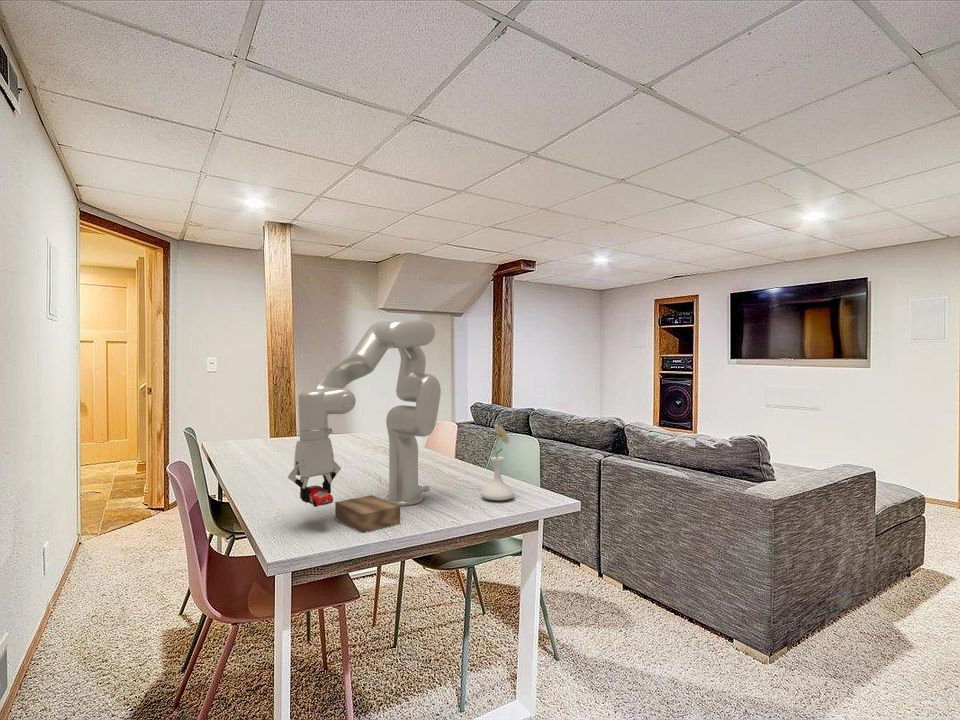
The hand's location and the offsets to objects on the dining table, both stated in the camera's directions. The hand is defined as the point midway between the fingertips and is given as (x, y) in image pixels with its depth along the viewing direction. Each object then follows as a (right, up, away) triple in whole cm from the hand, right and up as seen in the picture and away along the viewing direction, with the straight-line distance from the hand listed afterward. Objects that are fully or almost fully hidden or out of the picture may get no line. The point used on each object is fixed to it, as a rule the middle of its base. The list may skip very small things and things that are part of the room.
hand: (316, 498), depth 143 cm
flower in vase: (+52, -8, +30) cm, 61 cm away
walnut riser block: (+13, -8, +4) cm, 16 cm away
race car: (0, -1, 0) cm, 1 cm away
